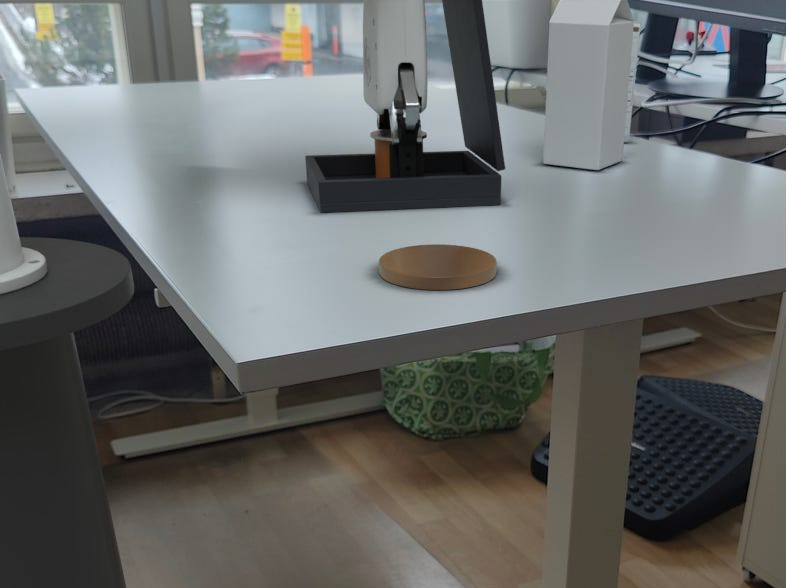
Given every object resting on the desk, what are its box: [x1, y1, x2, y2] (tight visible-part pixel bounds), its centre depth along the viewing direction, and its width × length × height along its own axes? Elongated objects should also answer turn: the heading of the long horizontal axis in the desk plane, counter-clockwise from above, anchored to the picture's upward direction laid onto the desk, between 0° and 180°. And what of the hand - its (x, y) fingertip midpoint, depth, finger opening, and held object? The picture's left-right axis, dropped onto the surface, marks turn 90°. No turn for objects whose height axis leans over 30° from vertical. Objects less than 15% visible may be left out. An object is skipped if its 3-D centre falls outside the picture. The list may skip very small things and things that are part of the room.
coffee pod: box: [369, 129, 428, 178], centre depth 96 cm, size 6×6×5 cm
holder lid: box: [441, 0, 506, 172], centre depth 93 cm, size 18×14×1 cm
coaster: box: [378, 243, 498, 291], centre depth 73 cm, size 9×9×1 cm
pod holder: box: [304, 150, 502, 213], centre depth 97 cm, size 18×14×3 cm
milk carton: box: [542, 0, 635, 171], centre depth 108 cm, size 7×7×19 cm
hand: (399, 177), depth 97 cm, fingers open, 7 cm apart
